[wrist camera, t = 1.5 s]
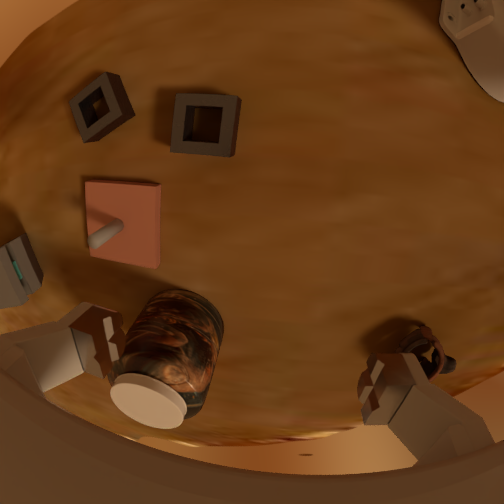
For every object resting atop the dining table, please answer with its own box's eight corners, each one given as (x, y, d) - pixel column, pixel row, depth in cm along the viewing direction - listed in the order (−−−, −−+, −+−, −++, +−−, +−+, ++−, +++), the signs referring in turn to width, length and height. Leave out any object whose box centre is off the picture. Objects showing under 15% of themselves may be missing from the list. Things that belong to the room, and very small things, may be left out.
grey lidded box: (47, 221, 33) (-3, 250, 23) (65, 268, 36) (22, 305, 26) (-12, 253, 38) (-45, 277, 28) (3, 287, 41) (-28, 313, 31)
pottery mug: (379, 373, 39) (385, 393, 32) (390, 318, 40) (400, 328, 32) (441, 377, 36) (457, 394, 28) (454, 324, 36) (473, 333, 28)
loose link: (83, 102, 26) (68, 101, 23) (119, 75, 25) (105, 71, 22) (98, 141, 28) (83, 143, 25) (135, 115, 27) (122, 114, 24)
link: (185, 96, 26) (176, 93, 23) (241, 99, 26) (237, 95, 23) (180, 150, 28) (170, 152, 25) (234, 155, 28) (229, 157, 25)
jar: (216, 362, 40) (195, 446, 26) (144, 340, 40) (104, 414, 26) (231, 301, 35) (206, 395, 21) (146, 277, 35) (87, 353, 21)
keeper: (91, 179, 30) (56, 192, 24) (161, 184, 30) (132, 198, 23) (96, 251, 34) (66, 275, 28) (160, 263, 34) (136, 292, 27)
